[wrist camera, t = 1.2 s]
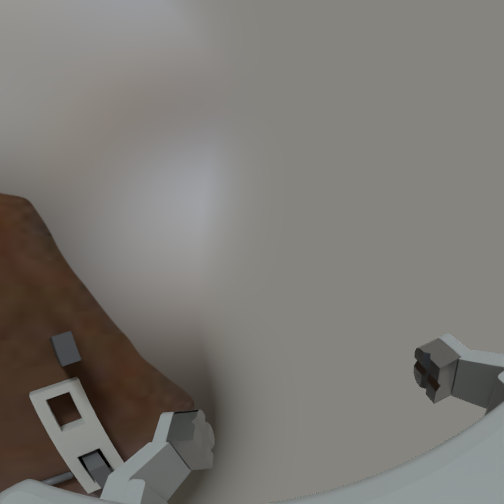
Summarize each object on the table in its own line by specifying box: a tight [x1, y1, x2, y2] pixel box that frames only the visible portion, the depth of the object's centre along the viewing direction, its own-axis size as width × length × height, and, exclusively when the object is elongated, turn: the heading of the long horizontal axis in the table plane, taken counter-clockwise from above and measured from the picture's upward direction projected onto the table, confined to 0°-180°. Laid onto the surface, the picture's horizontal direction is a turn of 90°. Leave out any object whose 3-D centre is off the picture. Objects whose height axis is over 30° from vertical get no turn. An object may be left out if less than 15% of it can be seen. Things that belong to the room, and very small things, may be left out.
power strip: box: [29, 377, 124, 494], centre depth 24 cm, size 20×18×8 cm
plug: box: [50, 331, 81, 366], centre depth 32 cm, size 3×4×9 cm
